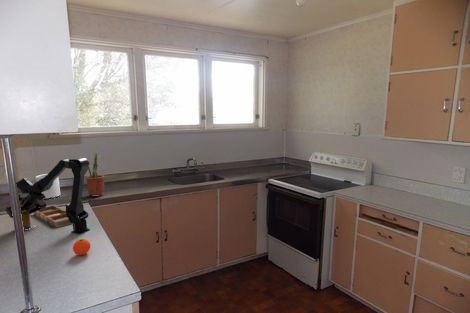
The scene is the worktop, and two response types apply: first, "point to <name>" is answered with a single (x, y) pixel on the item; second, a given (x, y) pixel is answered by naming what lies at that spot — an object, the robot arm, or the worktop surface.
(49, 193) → the utensil holder
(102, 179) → the potted plant
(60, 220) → the tray
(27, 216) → the condiment
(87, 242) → the clementine
